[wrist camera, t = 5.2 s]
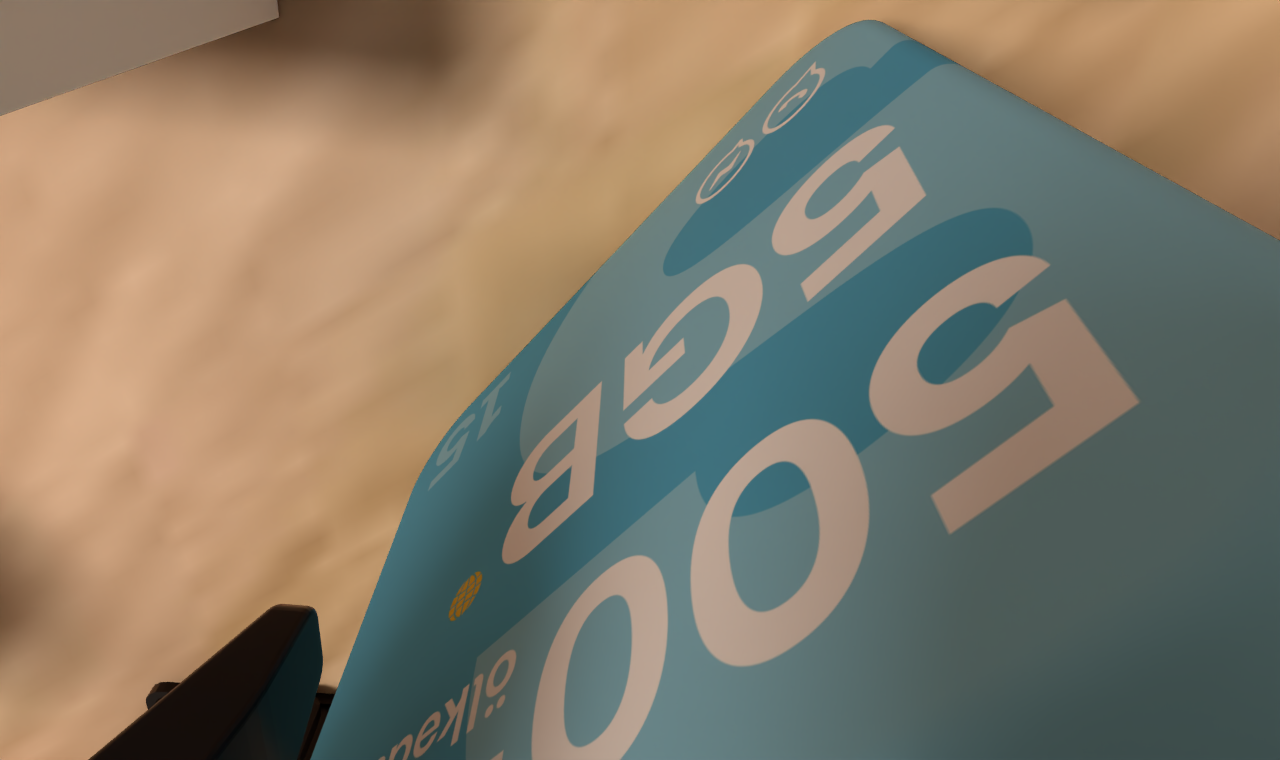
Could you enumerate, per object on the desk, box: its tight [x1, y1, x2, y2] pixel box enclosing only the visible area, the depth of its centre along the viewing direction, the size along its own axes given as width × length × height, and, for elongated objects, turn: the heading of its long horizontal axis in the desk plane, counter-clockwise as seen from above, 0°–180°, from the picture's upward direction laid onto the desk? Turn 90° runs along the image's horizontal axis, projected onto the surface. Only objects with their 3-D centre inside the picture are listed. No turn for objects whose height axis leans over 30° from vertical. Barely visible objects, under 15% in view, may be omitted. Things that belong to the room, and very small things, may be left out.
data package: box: [310, 20, 1280, 760], centre depth 11 cm, size 12×4×12 cm, turn 138°
